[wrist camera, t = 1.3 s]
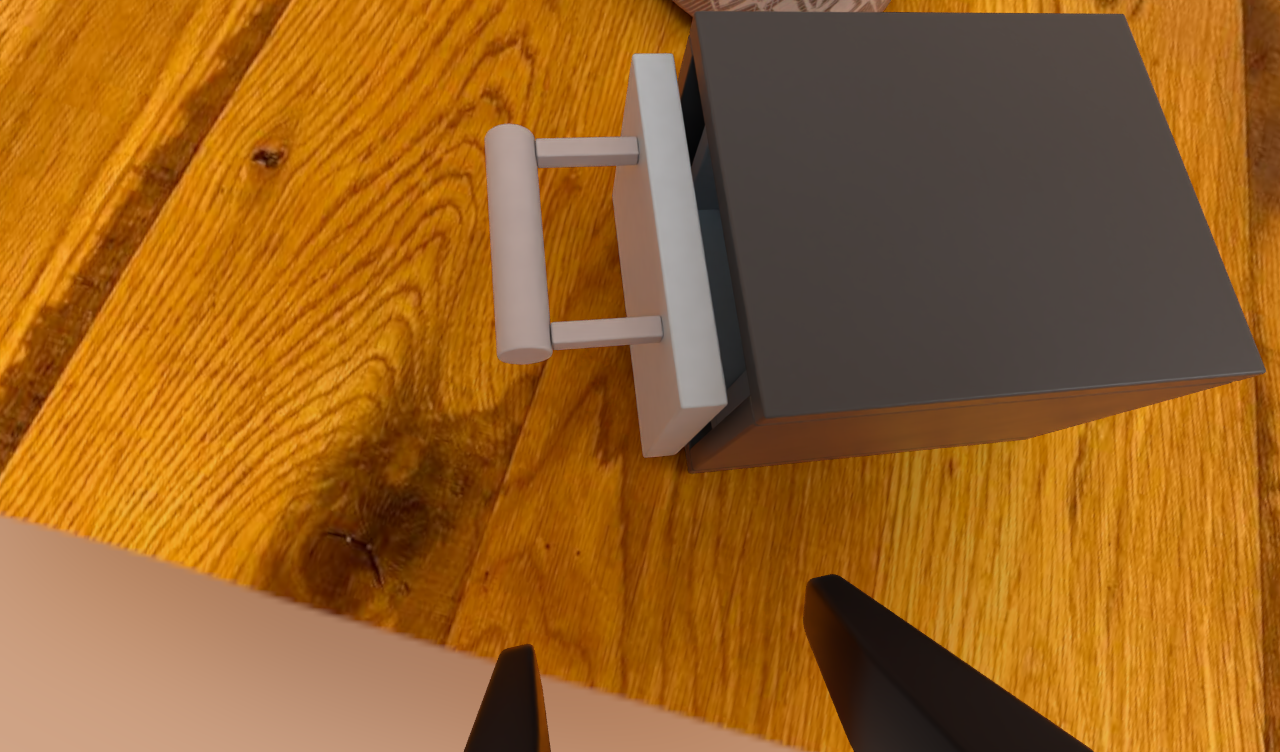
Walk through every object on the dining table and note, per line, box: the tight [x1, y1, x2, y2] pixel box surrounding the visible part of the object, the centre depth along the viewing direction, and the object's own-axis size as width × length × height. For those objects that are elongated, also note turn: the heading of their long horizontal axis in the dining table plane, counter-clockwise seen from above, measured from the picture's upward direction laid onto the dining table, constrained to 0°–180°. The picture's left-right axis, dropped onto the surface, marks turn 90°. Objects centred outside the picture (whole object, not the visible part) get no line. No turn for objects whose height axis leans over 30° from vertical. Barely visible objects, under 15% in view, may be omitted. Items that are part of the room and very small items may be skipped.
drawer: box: [485, 54, 750, 458], centre depth 21 cm, size 17×10×7 cm, turn 97°
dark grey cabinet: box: [678, 11, 1266, 474], centre depth 21 cm, size 14×12×9 cm
